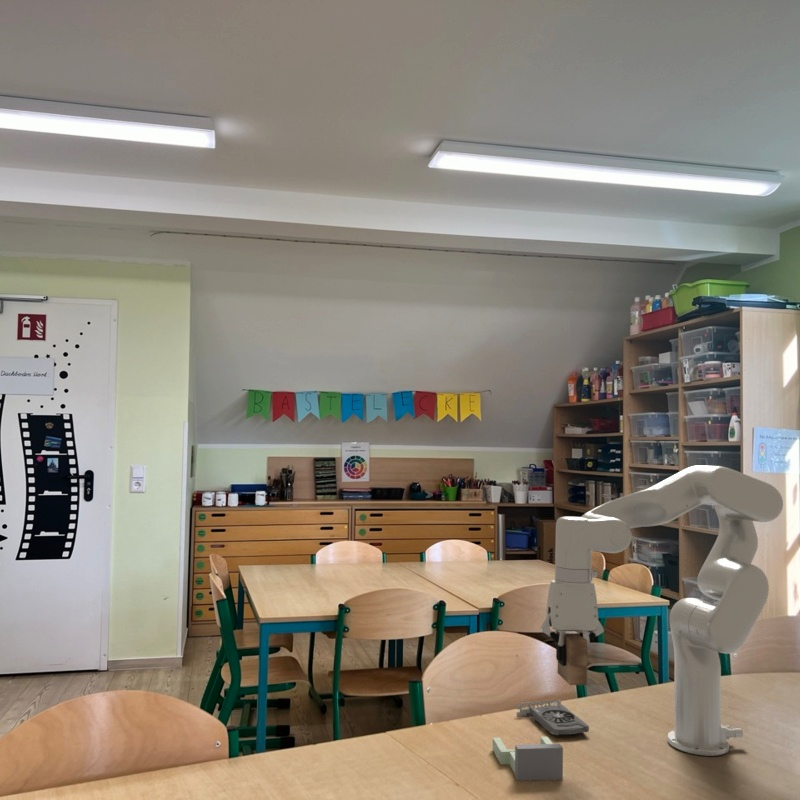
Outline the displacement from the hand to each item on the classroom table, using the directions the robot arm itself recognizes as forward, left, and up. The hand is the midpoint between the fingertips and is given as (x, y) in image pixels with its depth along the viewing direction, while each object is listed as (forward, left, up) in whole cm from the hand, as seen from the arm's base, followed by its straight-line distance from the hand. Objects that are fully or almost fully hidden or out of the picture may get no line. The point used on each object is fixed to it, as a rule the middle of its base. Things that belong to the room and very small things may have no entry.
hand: (571, 663), depth 156 cm
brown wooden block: (0, 0, -3) cm, 3 cm away
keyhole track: (+9, +2, -20) cm, 22 cm away
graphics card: (-2, -19, -20) cm, 28 cm away
